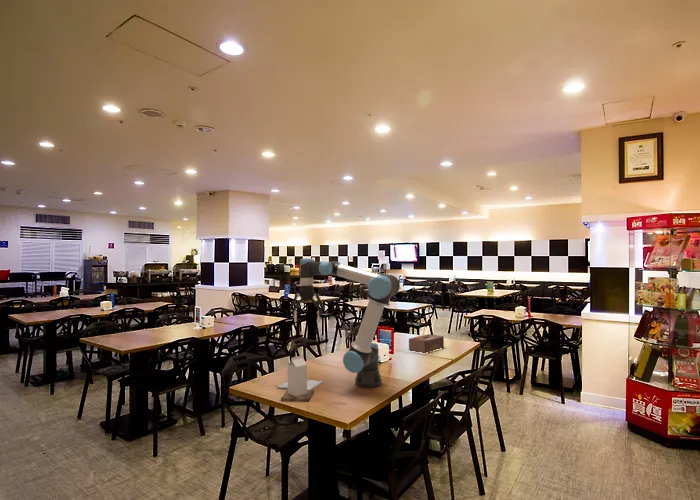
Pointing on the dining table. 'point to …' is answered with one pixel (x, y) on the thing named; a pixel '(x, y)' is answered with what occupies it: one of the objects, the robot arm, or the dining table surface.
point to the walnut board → (297, 399)
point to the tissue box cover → (426, 343)
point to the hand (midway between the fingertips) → (307, 321)
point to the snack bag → (310, 384)
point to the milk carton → (297, 376)
